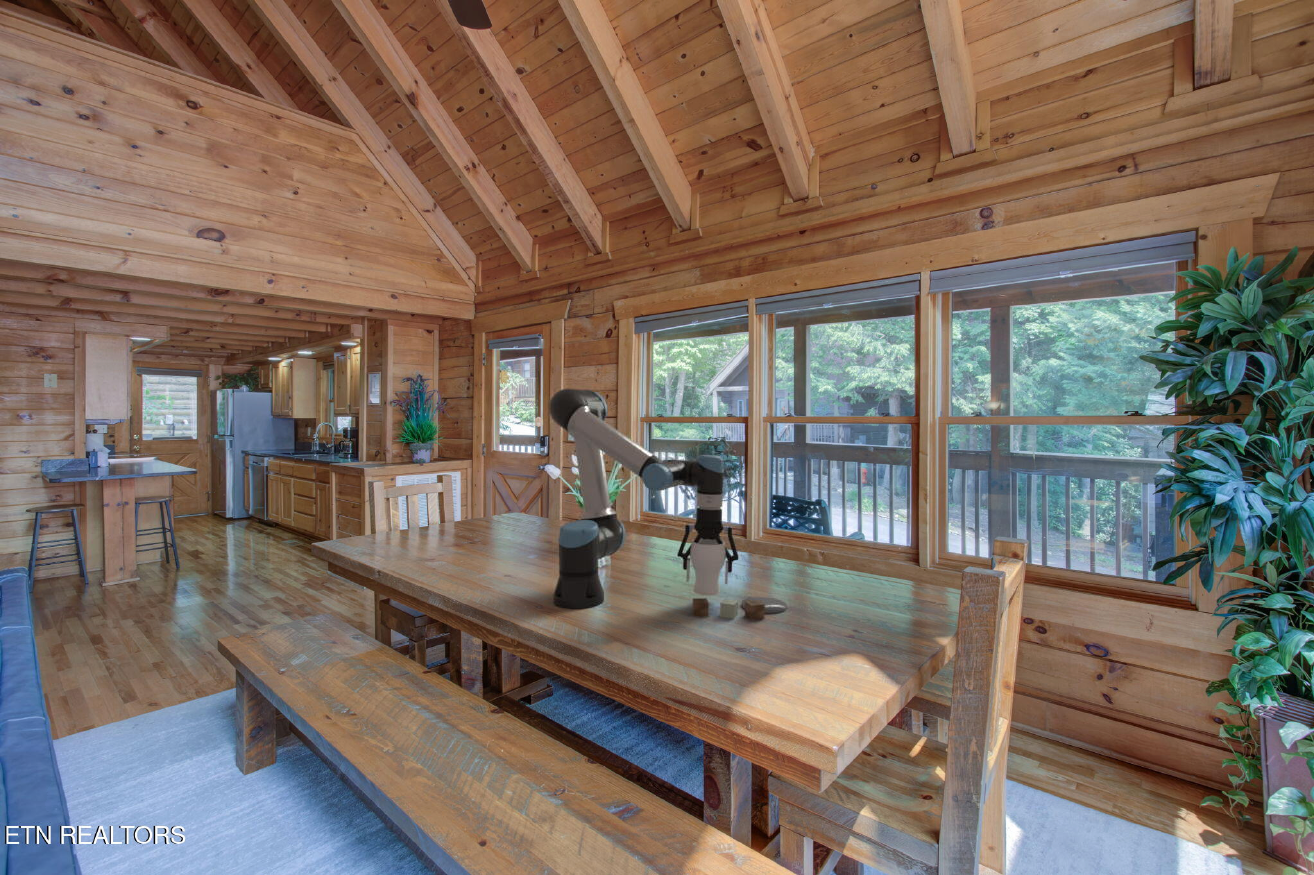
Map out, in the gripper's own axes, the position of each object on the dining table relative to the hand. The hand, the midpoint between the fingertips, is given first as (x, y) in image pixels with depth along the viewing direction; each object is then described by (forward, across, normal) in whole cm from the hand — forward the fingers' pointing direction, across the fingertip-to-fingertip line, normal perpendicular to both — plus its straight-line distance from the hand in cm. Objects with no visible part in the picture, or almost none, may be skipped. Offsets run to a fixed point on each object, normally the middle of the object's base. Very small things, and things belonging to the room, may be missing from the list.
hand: (707, 581), depth 173 cm
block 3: (+6, +14, -9) cm, 18 cm away
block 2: (+7, +7, -9) cm, 13 cm away
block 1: (+7, -1, -9) cm, 11 cm away
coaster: (+6, +17, 0) cm, 18 cm away
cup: (+3, 0, 0) cm, 3 cm away
